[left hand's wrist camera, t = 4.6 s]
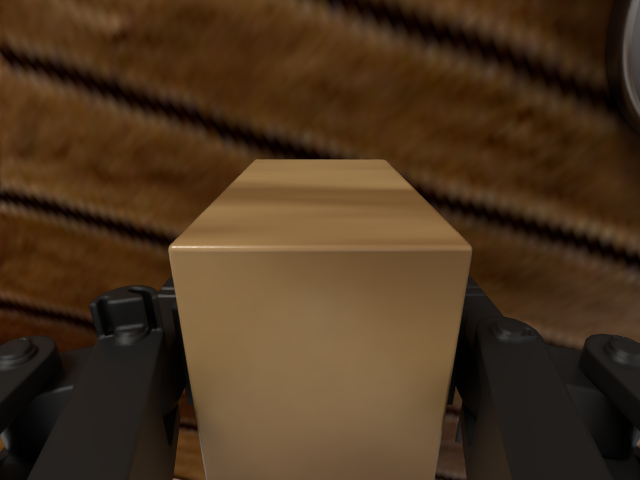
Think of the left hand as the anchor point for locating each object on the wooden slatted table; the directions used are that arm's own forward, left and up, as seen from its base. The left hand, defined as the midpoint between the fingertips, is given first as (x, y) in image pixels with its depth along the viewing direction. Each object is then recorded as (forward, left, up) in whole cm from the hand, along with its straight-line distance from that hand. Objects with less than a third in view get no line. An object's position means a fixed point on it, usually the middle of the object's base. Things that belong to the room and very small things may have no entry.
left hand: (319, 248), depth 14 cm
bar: (-2, +7, -1) cm, 7 cm away
